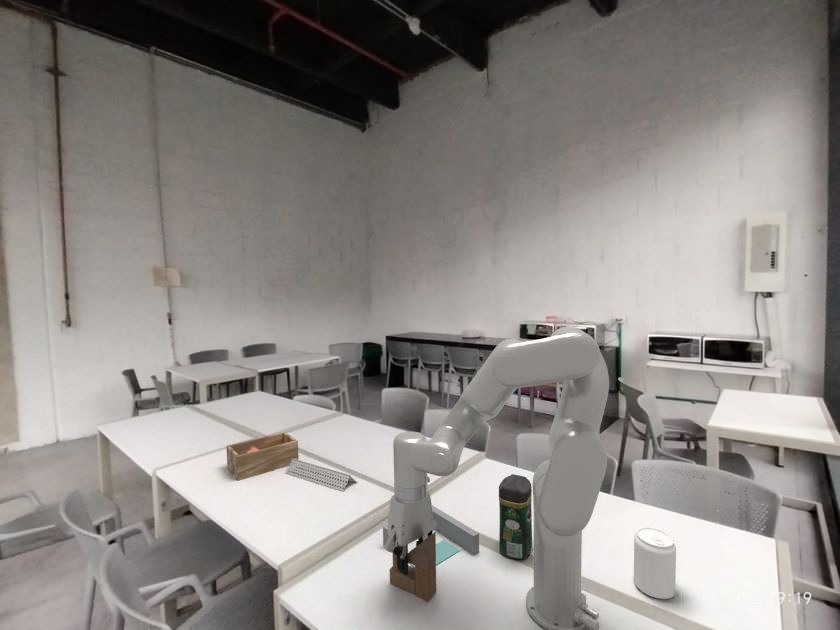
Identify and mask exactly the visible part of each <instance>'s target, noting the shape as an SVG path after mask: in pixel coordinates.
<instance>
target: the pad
mask: <svg viewBox="0 0 840 630" xmlns="http://www.w3.org/2000/svg"><path fill="white" fill-rule="evenodd" d="M460 551H461V550H460V549H459V548H457V547H456V546H454V545H453V544H452V543H450V542H449V541H447V540H445V539H442V540H441V541H439V542H437V543H436V562H435V563H436V566H438V565H440V564H441V563H443V562H445V561H446V560H447V559H450V558H451V557H453V556H454V555H456V554H457V553H459V552H460ZM408 565H409V566H411V567H413V568H415V565H413V564H410V563H408Z"/></svg>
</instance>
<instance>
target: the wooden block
mask: <svg viewBox="0 0 840 630" xmlns="http://www.w3.org/2000/svg"><path fill="white" fill-rule="evenodd" d="M436 536H437V535H436V532H434V531H433V532H432V535H430V536H429V537H428V538H426V539H425V540H424V541H423V542H421V543H420V544H419V545H417V546H416V545H415V547H413V548H412V549H411V550H409V545H408V546H407V551H406V557H408V574H407V575H406V576H405V575H404V574H403V573H402V572H401V571H399V570H398V568H397V555H395V554H394V553H392V566H391V567H390V568H389V584H391V585H393V586H395V587H397V588H398V589H401V590H403V591H405V592H407V593H409V594H411V595H413V596H415V597H416V598H419V599H421V600H423V601H424V602H427V603H429V602H430V601H431V600H432V598H433V597H434V596H435V594H436V593H437V565H436V563H435V562H436V544H437V543H436V541H437V540H436V539H437V538H436ZM395 544H396V541H395V543H394V546H395ZM401 548H402V547H401V546H400V550H401ZM409 563H410V564H413V565H415V568H414V567H413V566H411V565H410V564H409Z"/></svg>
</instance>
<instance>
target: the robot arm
mask: <svg viewBox="0 0 840 630" xmlns="http://www.w3.org/2000/svg"><path fill="white" fill-rule="evenodd" d="M608 371H609V370H608V366H607V364H606V361H605V358H604V356H603V355H602V352H601V350H600V347H599V344H598V343H597V341H596V340H595V339H594V338H593V337H592V336H591V335H590V334H588V333H587V332H585V331H583V330H582V329H580V328H578V327H574V326H563V327H559V328H558V329H556V330H554V331H553V332H552V334H551V335H550V336H548V337H544V338H540V339H533V340H528V341H522V340H521V339H517V338H506V339H504V340H502V341H501V342H499V343H498V344H497V345H496V346H495V348H494V349H493V351H491V353H490V355H489V356H488V357H487V359H486V360H485V361H484V363H483V364H482V365H481V366H480V368H479V369H478V371H477V373H476V374H475V375H474V377H472V380H471V381H470V382H469V384H468V385H467V386H466V388H465V389H464V390H463V392H462V393H461V395H460V397H459V398H458V401H457V402H456V403H455V404H454V406H453V407H452V409H451V410H450V411H449V412H448V414H447V415H446V417H445V418H444V419H443V421H442V422H441V424H440V425H439V426H438V428H437V429H436V431H435V432H434V433H433V435H432V437H431V439H429V440H427V438H426V436H425V435H424V434H423V433H421V432H418V431H403V432H400V433H398V434H397V435H395V437H394V440H393V447H392V449H393V451H392V452H393V479H394V480H393V488H394V489H393V490H394V491H393V493H394V495H391V499H390V502H389V509H388V516H387V517H388V518H387V524H388V539H387V541H386V543H385V545H383V548H384V550H386V551H387V552H388V553H392V554H393V553H394V554H395V555H397V568H398V570H399V571H401V572H402V573H403V574H404V575H405V576H406V575H407V574H408V565H409V563H408V557H406V551H407V546H408V547H409V544H411V543H413V542H415V541H416V542H415V547H416V546H417V545H419V544H420V543H421V542H423V541H424V540H425V539H426V538H428V537H429V536H430V535H432V534H433V532H434V530H435V527H436V526H437V522H436V521H435V520H434V519H433V512H432V506H433V504H432V498H431V494H430V491H429V489H428V488H429V487H428V483H430V481H431V479H430V477H429V476H428V474H430V475H433V476H436V477H437V476H438V477H448V476H451V475H453V474H454V473H456V470H457V469H458V467H459V463H460V461H461V456H462V454H463V450H464V448H465V447H466V445H467V443H469V441H470V439H471V438H472V437H473V436H474V435H475V433H476V432H477V430H479V428H480V427H481V426H482V425H483V424H484V423H485V422H487V421H489V420H492V419H494V418H496V416H498V415H499V413H500V412H501V410H502V409H503V408H504V406H505V405H506V403H508V401H509V400H510V399H511V397H512V396H513V394H514V393H515V392H516V390H518V389H520V388H529V387H536V386H543V385H549V384H555V383H560V382H563V385H562V389H561V390H562V391H561V394H560V399H559V402H558V405H557V409H556V412H555V415H554V417H553V418H554V419H553V421H552V423H551V427H550V429H549V432H548V444H549V447H550V452H551V455H550V459H546V460H543V461H542V462H541V463H540V464H539V465H538V466H537V467H536V469H535V471H534V473H533V478H532V501H533V502H532V503H533V504H532V505H533V586H532V587H531V588H530V589H529V590H528V592H527V593H526V597H525V605H526V610H527V612H528V613H529V615H530V616H531V618H532V619H533V620H534V621H535V622H536V623H537V624H538V625H540V626H542V627H543V628H545V629H546V630H584V629H586V628H587V629H589V630H599V629H600V621H598V619H599V617H600V614H599V612H597V611H596V610H594V609H592V608H590V607H589V605H588V604H587V595H585V594H584V593H582V553H583V552H582V550H583V547H582V544H583V543H582V542H583V537H582V536H583V531H584V529H586V527H587V525H588V524H589V522H590V520H591V519H592V516H593V513H594V509H595V507H596V503H597V500H598V498H599V494H600V491H601V489H602V485H603V481H604V480H605V475H606V472H607V465H608V464H607V463H608V455H607V454H608V453H607V449H606V447H605V444H604V442H603V440H602V439H601V436H600V429H601V424H602V422H603V419H604V418H603V417H604V414H605V410H606V409H605V408H606V404H607V401H608V397H609V389H610V376H609V372H608ZM395 541H396V544H395V546H394V543H395ZM400 546H401V547H402V548H401V550H400Z"/></svg>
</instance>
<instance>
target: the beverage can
mask: <svg viewBox="0 0 840 630" xmlns="http://www.w3.org/2000/svg"><path fill="white" fill-rule="evenodd" d="M676 564H677V547H676V544H675V542H674V539H673V537H672V536H671V535H670V534H669V533H667V532H665V531H663V530H660V529H659V528H656V527H655V528H654V527H640V528H638V529H637V531H636V533H635V534H634V539H633V582H634V584H635V586H636V587H637V588H638V589H639V590H640V591H641V592H643V593H644V594H645V595H647V596H650V597H653V598H656V599H661V600H666V599H671V598H673V597H674V596H675V594H676V577H677V576H676V575H677V573H676V572H677V571H676V570H677V565H676Z"/></svg>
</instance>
